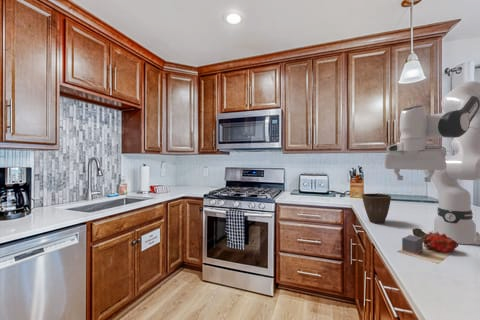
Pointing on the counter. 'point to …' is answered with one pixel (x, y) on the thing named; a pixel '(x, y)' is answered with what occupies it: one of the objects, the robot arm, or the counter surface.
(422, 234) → the dark brown rough rod
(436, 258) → the pine board
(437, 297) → the counter surface
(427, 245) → the dragon fruit
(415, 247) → the block
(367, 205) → the plant pot
